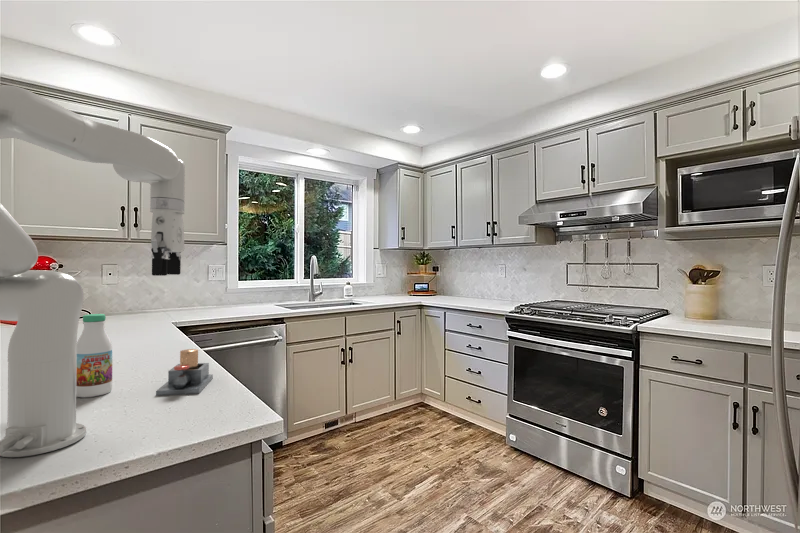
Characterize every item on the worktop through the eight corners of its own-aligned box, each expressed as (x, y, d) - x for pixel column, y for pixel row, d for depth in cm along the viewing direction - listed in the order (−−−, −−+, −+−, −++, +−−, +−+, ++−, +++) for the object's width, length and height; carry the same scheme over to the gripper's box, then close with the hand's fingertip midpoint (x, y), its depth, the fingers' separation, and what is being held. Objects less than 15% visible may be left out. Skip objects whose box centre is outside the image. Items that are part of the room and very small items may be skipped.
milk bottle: (67, 395, 101) (68, 315, 101) (102, 387, 108) (103, 312, 108) (83, 400, 98) (84, 317, 98) (118, 391, 105) (119, 314, 105)
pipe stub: (195, 381, 110) (195, 352, 110) (177, 382, 109) (177, 352, 109) (199, 377, 114) (200, 348, 114) (182, 377, 114) (183, 349, 114)
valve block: (199, 393, 104) (199, 368, 104) (156, 395, 102) (156, 370, 102) (212, 378, 118) (212, 356, 118) (175, 380, 116) (175, 357, 115)
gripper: (171, 202, 95) (171, 276, 95) (193, 212, 112) (193, 274, 112) (136, 201, 93) (135, 275, 93) (163, 211, 110) (163, 274, 110)
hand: (166, 274), depth 103 cm, fingers open, 9 cm apart
